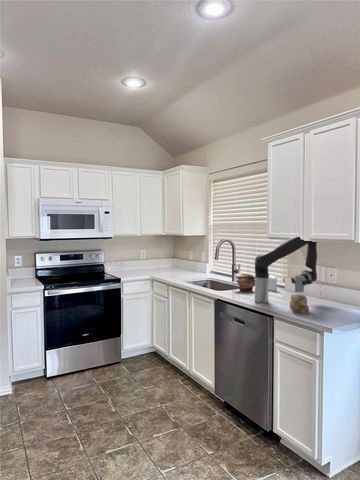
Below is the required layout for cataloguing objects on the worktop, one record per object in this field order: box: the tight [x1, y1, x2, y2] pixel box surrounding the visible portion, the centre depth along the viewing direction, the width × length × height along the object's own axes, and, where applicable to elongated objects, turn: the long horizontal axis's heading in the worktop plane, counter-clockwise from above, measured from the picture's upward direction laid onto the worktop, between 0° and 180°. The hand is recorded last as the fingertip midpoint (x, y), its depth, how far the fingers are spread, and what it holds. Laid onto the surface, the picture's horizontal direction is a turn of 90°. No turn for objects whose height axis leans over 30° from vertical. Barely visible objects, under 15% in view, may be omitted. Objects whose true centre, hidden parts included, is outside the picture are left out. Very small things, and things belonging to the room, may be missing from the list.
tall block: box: [294, 274, 305, 293], centre depth 217 cm, size 4×4×10 cm
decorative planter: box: [235, 273, 255, 293], centre depth 281 cm, size 20×12×14 cm, turn 115°
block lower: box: [289, 300, 310, 315], centre depth 218 cm, size 9×14×5 cm, turn 170°
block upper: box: [290, 293, 308, 307], centre depth 218 cm, size 8×12×5 cm, turn 169°
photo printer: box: [268, 275, 278, 292], centre depth 287 cm, size 10×4×12 cm, turn 30°
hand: (298, 282), depth 215 cm, fingers closed on tall block, 4 cm apart
